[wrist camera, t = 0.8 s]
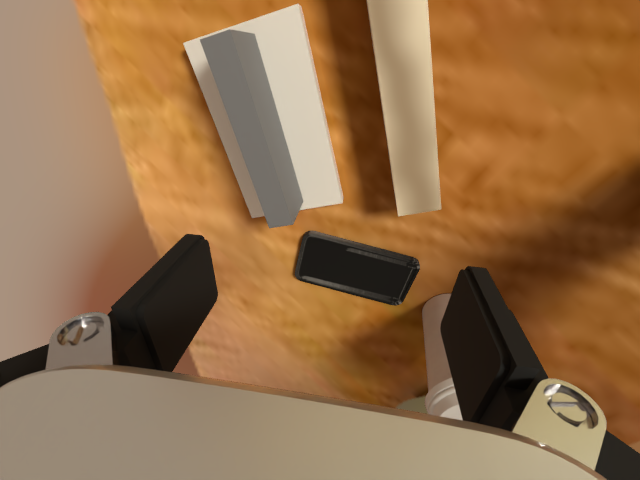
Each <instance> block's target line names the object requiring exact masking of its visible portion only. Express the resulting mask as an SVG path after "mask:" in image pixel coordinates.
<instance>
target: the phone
mask: <svg viewBox="0 0 640 480" xmlns="http://www.w3.org/2000/svg"><path fill="white" fill-rule="evenodd" d="M419 269H420V265H419V262H418V260H417V259H416V258H414V257H411V256H407V255H403V254H399V253H396V252H392V251H388V250H385V249H380V248H377V247H373V246H369V245H365V244H362V243H358V242H354V241H350V240H346V239H343V238H339V237H335V236H331V235H328V234H324V233H320V232H316V231H308V232H306V233H305V234H304V236H303V239H302V243H301V248H300V252H299V257H298V261H297V266H296V270H295V276H296V278H297V279H298V280H300V281H303V282H307V283H311V284H314V285H318V286H322V287H326V288H330V289H333V290H337V291H341V292H345V293H348V294H352V295H356V296H360V297H363V298H367V299H371V300H375V301H379V302H382V303H386V304H390V305H399V304H401V303H402V302H403V301H404V299H405V297H406V295H407V293H408V291H409V289H410V287H411V285H412V283H413V281H414V279H415V278H416V276H417V274H418V272H419Z"/></svg>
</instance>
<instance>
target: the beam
mask: <svg viewBox="0 0 640 480" xmlns="http://www.w3.org/2000/svg"><path fill="white" fill-rule="evenodd" d="M366 1H367V8H368V15H369V22H370V29H371V35H372V42H373V49H374V56H375V63H376V70H377V77H378V84H379V91H380V98H381V105H382V112H383V119H384V126H385V132H386V139H387V146H388V153H389V160H390V167H391V174H392V181H393V188H394V195H395V201H396V206H397V212H398V216H404V215H410V214H416V213H422V212H429V211H435V210H441V199H440V184H439V168H438V153H437V137H436V122H435V106H434V91H433V76H432V60H431V45H430V29H429V14H428V0H366Z"/></svg>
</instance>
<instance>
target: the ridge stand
mask: <svg viewBox="0 0 640 480" xmlns="http://www.w3.org/2000/svg"><path fill="white" fill-rule="evenodd" d="M183 44H184V47H185V49H186V52H187V54H188V57H189V59H190V62H191V65H192V67H193V70H194V72H195V75H196V77H197V80H198V82H199V85H200V87H201V90H202V92H203V95H204V98H205V100H206V103H207V105H208V108H209V110H210V113H211V115H212V118H213V120H214V123H215V125H216V128H217V131H218V133H219V136H220V138H221V141H222V143H223V146H224V148H225V151H226V153H227V156H228V158H229V161H230V164H231V166H232V169H233V171H234V174H235V176H236V179H237V181H238V184H239V186H240V189H241V191H242V194H243V197H244V199H245V202H246V204H247V207H248V209H249V212H250V214H251V217H252V218H256V217H262V216H265V218H266V221H267V223H268V226H269V228H274V227H280V226H287V225H293V224H294V221H295V219H296V217H297V215H298V212H299V210H304V209H310V208H316V207H322V206H328V205H334V204H340V203H343V193H342V189H341V184H340V180H339V175H338V170H337V166H336V161H335V157H334V152H333V148H332V143H331V139H330V134H329V129H328V125H327V120H326V116H325V111H324V107H323V102H322V98H321V93H320V89H319V84H318V79H317V75H316V70H315V66H314V61H313V57H312V52H311V48H310V43H309V39H308V34H307V29H306V25H305V20H304V16H303V11H302V7H301V6H300V5H299V4H296V5H293V6H290V7H287V8H284V9H281V10H278V11H275V12H272V13H270V14H267V15H264V16H261V17H258V18H255V19H252V20H249V21H246V22H243V23H240V24H237V25H234V26H232V27H229V28H226V29H223V30H220V31H217V32H214V33H211V34H208V35H205V36H202V37H199V38H196V39H193V40H191V41H188V42H185V43H183Z"/></svg>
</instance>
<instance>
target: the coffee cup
mask: <svg viewBox="0 0 640 480" xmlns="http://www.w3.org/2000/svg"><path fill="white" fill-rule="evenodd" d="M450 296H451V294H441V295H437V296H435V297H433V298H431V299H430V300H428V301H427V302H426V303H425V305H424V306H423V309H422V319H423V330H424V342H425V354H426V366H427V379H428V394H427V395H426V398H425V406H426V410H427V412H428V414H430V415H436V416H441V417H447V418H452V419H457V420H463V419H462V415H461V411H460V408H459V404H458V400H457V396H456V392H455V388H454V384H453V380H452V376H451V372H450V368H449V364H448V360H447V356H446V352H445V348H444V344H443V340H442V336H441V332H440V326H441V321H442V319H443V316H444V313H445V310H446V308H447V305H448V302H449V299H450Z"/></svg>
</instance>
